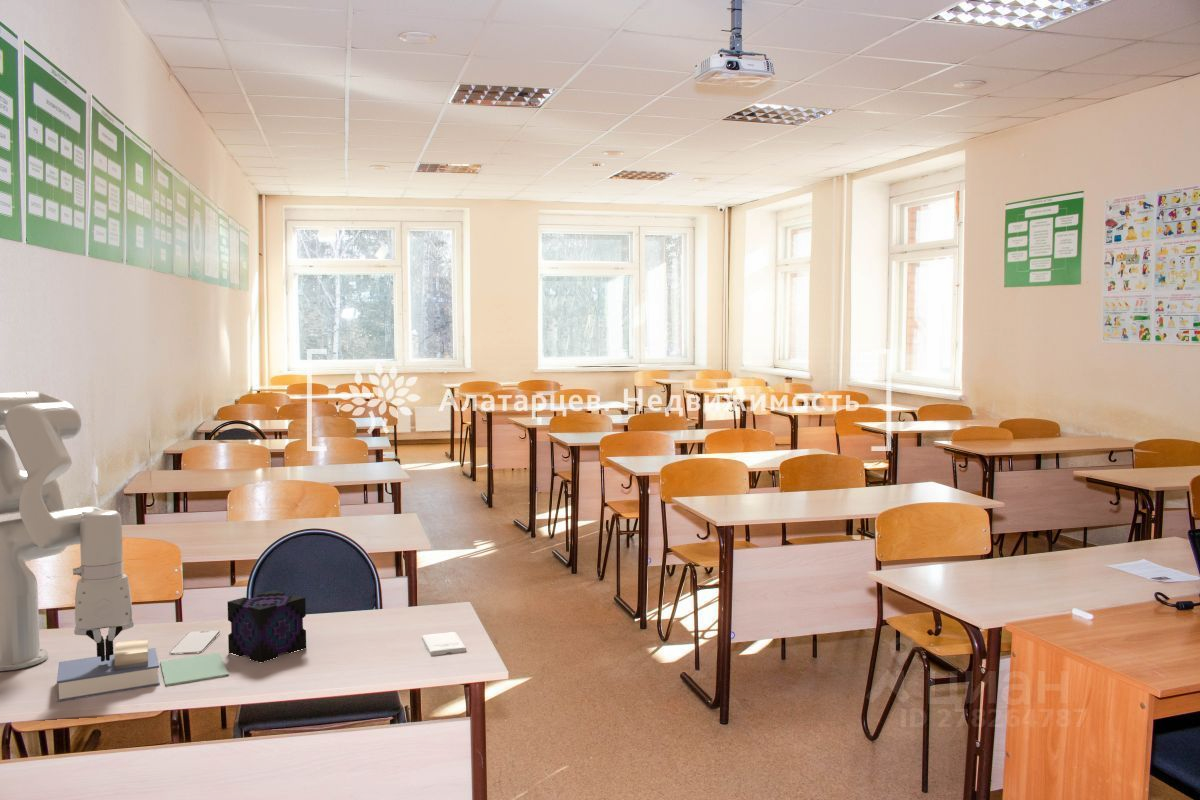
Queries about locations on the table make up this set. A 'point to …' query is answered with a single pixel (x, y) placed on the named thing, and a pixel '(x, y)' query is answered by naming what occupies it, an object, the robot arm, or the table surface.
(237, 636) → the energy cube
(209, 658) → the mat
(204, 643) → the smartphone
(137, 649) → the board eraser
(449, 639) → the external hard drive
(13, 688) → the table surface
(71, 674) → the textbook
